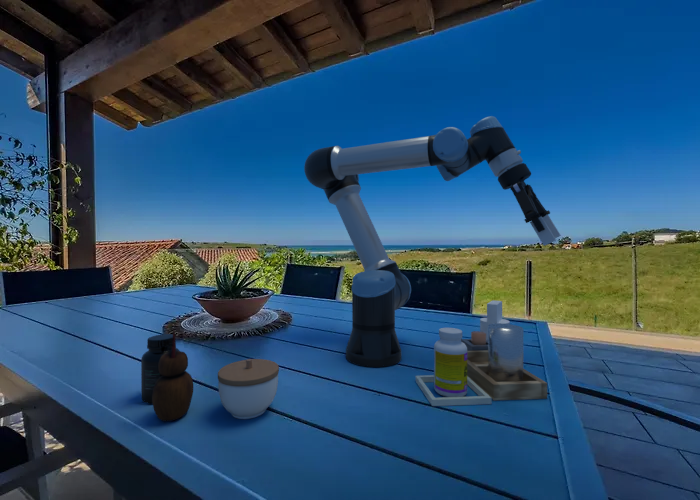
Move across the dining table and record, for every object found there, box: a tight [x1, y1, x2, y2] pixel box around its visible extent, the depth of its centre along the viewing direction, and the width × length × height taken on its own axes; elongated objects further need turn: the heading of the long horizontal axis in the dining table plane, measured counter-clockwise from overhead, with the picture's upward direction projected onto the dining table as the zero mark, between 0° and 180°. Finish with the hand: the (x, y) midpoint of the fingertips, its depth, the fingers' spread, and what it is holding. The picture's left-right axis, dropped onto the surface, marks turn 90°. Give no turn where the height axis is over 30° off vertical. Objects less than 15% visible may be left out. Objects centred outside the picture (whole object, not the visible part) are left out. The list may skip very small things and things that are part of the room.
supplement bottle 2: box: [433, 327, 468, 397], centre depth 67 cm, size 7×7×13 cm
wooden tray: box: [467, 350, 548, 401], centre depth 74 cm, size 11×21×3 cm, turn 4°
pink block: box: [470, 330, 486, 345], centre depth 89 cm, size 4×4×5 cm
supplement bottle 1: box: [140, 333, 180, 405], centre depth 65 cm, size 7×7×12 cm
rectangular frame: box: [415, 374, 493, 407], centre depth 67 cm, size 12×12×1 cm
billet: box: [488, 323, 524, 382], centre depth 69 cm, size 7×7×12 cm
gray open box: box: [461, 338, 488, 351], centre depth 89 cm, size 7×7×4 cm
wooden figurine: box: [152, 329, 194, 422], centre depth 57 cm, size 7×6×15 cm
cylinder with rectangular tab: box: [479, 299, 511, 340], centre depth 107 cm, size 9×9×12 cm
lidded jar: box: [217, 358, 280, 420], centre depth 59 cm, size 11×11×9 cm
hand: (553, 240), depth 82 cm, fingers open, 13 cm apart
